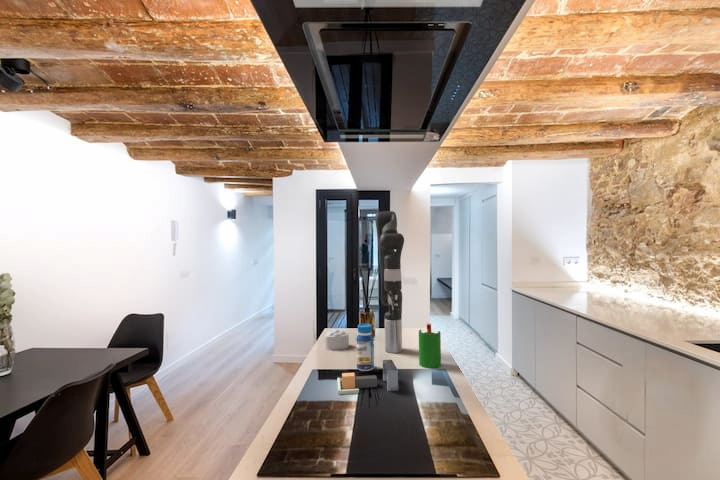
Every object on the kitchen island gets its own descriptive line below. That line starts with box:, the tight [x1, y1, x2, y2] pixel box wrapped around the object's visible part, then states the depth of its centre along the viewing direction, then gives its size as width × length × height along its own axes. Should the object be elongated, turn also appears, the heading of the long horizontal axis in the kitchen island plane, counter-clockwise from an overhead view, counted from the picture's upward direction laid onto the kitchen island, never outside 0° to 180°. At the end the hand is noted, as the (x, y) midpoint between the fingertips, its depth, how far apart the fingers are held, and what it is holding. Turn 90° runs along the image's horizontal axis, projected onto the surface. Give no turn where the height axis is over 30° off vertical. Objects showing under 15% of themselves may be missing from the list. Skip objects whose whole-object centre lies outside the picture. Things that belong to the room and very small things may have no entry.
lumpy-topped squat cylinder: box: [325, 329, 350, 351], centre depth 185 cm, size 10×13×9 cm
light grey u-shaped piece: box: [336, 377, 360, 395], centre depth 132 cm, size 12×8×2 cm, turn 6°
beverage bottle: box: [355, 323, 375, 372], centre depth 152 cm, size 8×8×20 cm
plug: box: [341, 372, 378, 390], centre depth 133 cm, size 14×4×5 cm, turn 96°
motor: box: [418, 322, 442, 369], centre depth 156 cm, size 10×9×20 cm
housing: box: [382, 359, 399, 392], centre depth 134 cm, size 4×12×8 cm, turn 6°
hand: (393, 316), depth 143 cm, fingers open, 8 cm apart
